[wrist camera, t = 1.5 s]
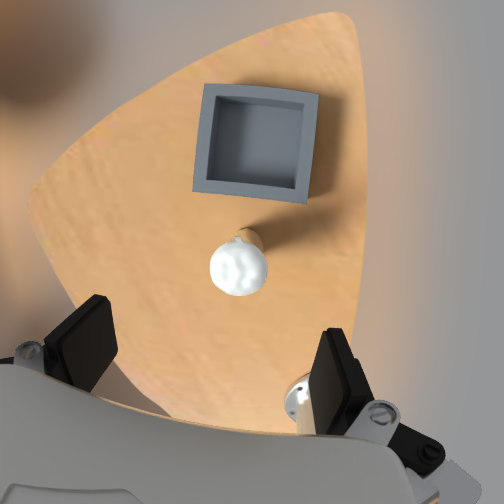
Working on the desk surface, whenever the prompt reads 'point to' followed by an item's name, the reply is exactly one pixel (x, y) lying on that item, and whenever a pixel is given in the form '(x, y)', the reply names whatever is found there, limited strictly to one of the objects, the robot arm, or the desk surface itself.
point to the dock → (255, 142)
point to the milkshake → (240, 264)
